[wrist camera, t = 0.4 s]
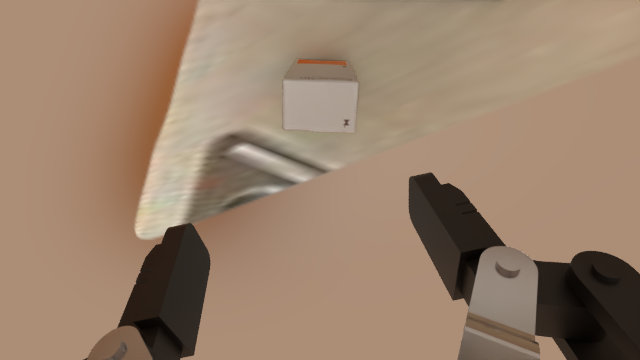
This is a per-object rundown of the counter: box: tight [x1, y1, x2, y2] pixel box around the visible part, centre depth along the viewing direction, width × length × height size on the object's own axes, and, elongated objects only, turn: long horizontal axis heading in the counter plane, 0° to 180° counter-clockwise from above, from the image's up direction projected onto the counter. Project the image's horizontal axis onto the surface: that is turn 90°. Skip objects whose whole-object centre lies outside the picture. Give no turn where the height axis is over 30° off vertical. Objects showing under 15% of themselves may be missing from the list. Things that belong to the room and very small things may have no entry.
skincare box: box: [283, 59, 359, 133], centre depth 30 cm, size 6×4×12 cm
